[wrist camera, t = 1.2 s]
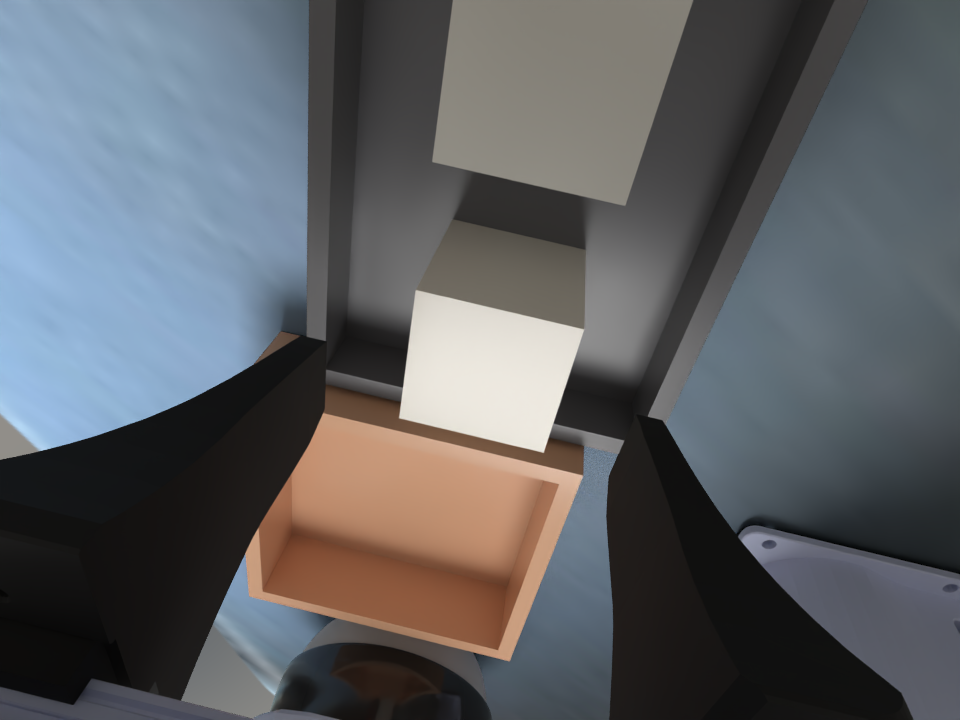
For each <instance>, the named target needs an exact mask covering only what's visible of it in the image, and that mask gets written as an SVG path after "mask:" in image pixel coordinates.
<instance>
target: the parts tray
mask: <svg viewBox="0 0 960 720" xmlns="http://www.w3.org/2000/svg"><path fill="white" fill-rule="evenodd" d="M867 2H868V0H693V2H692V5H691V8H690V11H689V15H688V18H687V21H686V24H685V27H684V30H683V33H682V36H681V39H680V42H679V45H678V48H677V51H676V54H675V57H674V60H673V63H672V66H671V69H670V72H669V75H668V78H667V81H666V84H665V87H664V90H663V93H662V96H661V99H660V102H659V105H658V108H657V111H656V114H655V117H654V120H653V123H652V126H651V129H650V132H649V135H648V138H647V142H646V145H645V148H644V151H643V154H642V157H641V160H640V163H639V166H638V169H637V172H636V175H635V178H634V181H633V184H632V187H631V190H630V193H629V196H628V199H627V202H626V205H625V206H623V205H619V204H614V203H610V202H606V201H601V200H597V199H592V198H588V197H584V196H579V195H575V194H570V193H566V192H562V191H557V190H553V189H549V188H544V187H540V186H535V185H531V184H527V183H522V182H518V181H513V180H509V179H505V178H500V177H496V176H492V175H487V174H483V173H478V172H474V171H470V170H465V169H461V168H456V167H452V166H448V165H443V164H439V163H434V162H432V159H433V151H434V144H435V136H436V128H437V120H438V112H439V105H440V97H441V89H442V81H443V74H444V66H445V58H446V50H447V43H448V35H449V27H450V19H451V11H452V4H453V0H309V101H308V228H307V337H310V338H314V339H319V340H323V341H327V356H326V384H327V385H331V386H335V387H339V388H343V389H347V390H352V391H356V392H360V393H364V394H368V395H373V396H377V397H381V398H385V399H389V400H394V401H398V402H401V400H402V392H403V385H404V377H405V369H406V361H407V353H408V346H409V338H410V330H411V322H412V315H413V307H414V299H415V291H416V288H417V286H418V285H419V283H420V281H421V279H422V277H423V275H424V273H425V271H426V269H427V267H428V265H429V264H430V262H431V260H432V258H433V256H434V254H435V252H436V250H437V248H438V246H439V244H440V243H441V241H442V239H443V237H444V235H445V233H446V231H447V229H448V227H449V225H450V223H451V221H452V220H453V219H454V220H458V221H462V222H467V223H471V224H475V225H480V226H484V227H488V228H493V229H497V230H501V231H506V232H510V233H514V234H519V235H523V236H527V237H532V238H536V239H541V240H545V241H549V242H554V243H558V244H562V245H567V246H571V247H575V248H580V249H584V250H586V275H585V323H584V332H583V335H582V338H581V341H580V344H579V347H578V350H577V353H576V356H575V359H574V362H573V365H572V368H571V371H570V374H569V377H568V380H567V383H566V386H565V389H564V393H563V396H562V399H561V402H560V405H559V408H558V411H557V414H556V417H555V420H554V423H553V426H552V429H551V432H550V435H549V438H552V439H557V440H561V441H565V442H569V443H573V444H578V445H582V446H586V447H590V448H594V449H599V450H603V451H607V452H611V453H615V454H619V452H620V449H621V447H622V445H623V443H624V440H625V438H626V436H627V433H628V431H629V429H630V426H631V424H632V422H633V420H634V417H635V415H636V414H639V415H643V416H647V417H651V418H656V419H660V420H663V422H664V423H665V425H666V423H667V420H668V418H669V416H670V414H671V412H672V410H673V408H674V406H675V404H676V402H677V399H678V397H679V395H680V393H681V391H682V389H683V387H684V385H685V383H686V381H687V379H688V376H689V374H690V372H691V370H692V368H693V366H694V364H695V362H696V360H697V358H698V356H699V353H700V351H701V349H702V347H703V345H704V343H705V341H706V339H707V337H708V335H709V333H710V330H711V328H712V326H713V324H714V322H715V320H716V318H717V316H718V314H719V312H720V310H721V307H722V305H723V303H724V301H725V299H726V297H727V295H728V293H729V291H730V289H731V286H732V284H733V282H734V280H735V278H736V276H737V274H738V272H739V270H740V268H741V266H742V263H743V261H744V259H745V257H746V255H747V253H748V251H749V249H750V247H751V245H752V243H753V240H754V238H755V236H756V234H757V232H758V230H759V228H760V226H761V224H762V222H763V220H764V217H765V215H766V213H767V211H768V209H769V207H770V205H771V203H772V201H773V199H774V197H775V194H776V192H777V190H778V188H779V186H780V184H781V182H782V180H783V178H784V176H785V173H786V171H787V169H788V167H789V165H790V163H791V161H792V159H793V157H794V155H795V153H796V150H797V148H798V146H799V144H800V142H801V140H802V138H803V136H804V134H805V132H806V130H807V127H808V125H809V123H810V121H811V119H812V117H813V115H814V113H815V111H816V109H817V107H818V104H819V102H820V100H821V98H822V96H823V94H824V92H825V90H826V88H827V86H828V84H829V81H830V79H831V77H832V75H833V73H834V71H835V69H836V67H837V65H838V63H839V60H840V58H841V56H842V54H843V52H844V50H845V48H846V46H847V44H848V42H849V40H850V37H851V35H852V33H853V31H854V29H855V27H856V25H857V23H858V21H859V19H860V17H861V14H862V12H863V10H864V8H865V6H866V4H867Z"/></svg>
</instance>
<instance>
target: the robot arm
mask: <svg viewBox="0 0 960 720" xmlns="http://www.w3.org/2000/svg"><path fill="white" fill-rule="evenodd" d="M326 356H327V341H323V340H319V339H314V338H310V337H306V336H302V335H301V336H299V337H298V338H296V339H294V340H293V341H291V342H289V343H288V344H286V345H285V346H283V347H281V348H280V349H278V350H276V351H275V352H273V353H272V354H270V355H268V356H267V357H265V358H264V359H262V360H260V361H259V362H257V363H255V364H254V365H252V366H250V367H249V368H247V369H245V370H244V371H242V372H240V373H239V374H237V375H235V376H233V377H232V378H230V379H228V380H226V381H224V382H223V383H221V384H219V385H217V386H215V387H213V388H211V389H209V390H207V391H206V392H204V393H202V394H200V395H198V396H196V397H194V398H192V399H190V400H188V401H186V402H183V403H181V404H179V405H177V406H175V407H172V408H170V409H168V410H165V411H163V412H161V413H158V414H156V415H153V416H151V417H148V418H146V419H143V420H141V421H138V422H135V423H132V424H129V425H126V426H123V427H121V428H118V429H115V430H112V431H109V432H106V433H103V434H101V435H97V436H94V437H91V438H87V439H84V440H81V441H77V442H74V443H70V444H66V445H63V446H59V447H55V448H51V449H47V450H43V451H39V452H35V453H31V454H26V455H22V456H17V457H12V458H7V459H2V460H0V720H339V719H335V718H331V717H327V716H322V715H318V714H314V713H310V712H302V711H294V710H286V709H280V710H276V711H272V712H268V713H264V714H261V715H259V716H257V717H254V718H253V719H252V718H248V717H244V716H240V715H236V714H231V713H228V712H224V711H220V710H216V709H212V708H208V707H204V706H200V705H196V704H192V703H188V702H184V701H181V699H182V696H183V694H184V692H185V689H186V686H187V684H188V682H189V679H190V677H191V674H192V672H193V669H194V667H195V664H196V662H197V660H198V657H199V655H200V653H201V650H202V648H203V646H204V643H205V641H206V639H207V636H208V634H209V632H210V629H211V627H212V625H213V622H214V620H215V618H216V615H217V613H218V611H219V609H220V607H221V605H222V602H223V600H224V598H225V596H226V594H227V591H228V589H229V587H230V585H231V583H232V580H233V578H234V576H235V574H236V572H237V570H238V568H239V566H240V564H241V561H242V559H243V557H244V555H245V553H246V551H247V549H248V547H249V545H250V543H251V541H252V539H253V537H254V535H255V533H256V531H257V530H258V528H259V526H260V524H261V522H262V521H263V519H264V517H265V516H266V514H267V513H268V511H269V509H270V508H271V506H272V504H273V503H274V501H275V500H276V498H277V496H278V495H279V493H280V492H281V490H282V488H283V487H284V485H285V483H286V482H287V480H288V479H289V477H290V475H291V474H292V472H293V471H294V469H295V467H296V466H297V464H298V462H299V461H300V459H301V457H302V456H303V454H304V452H305V451H306V449H307V447H308V446H309V444H310V442H311V439H312V437H313V435H314V433H315V431H316V428H317V426H318V424H319V422H320V419H321V417H322V415H323V412H324V410H325V389H326ZM606 518H607V534H608V548H609V562H610V575H611V588H612V601H613V655H612V680H611V700H610V718H609V720H960V574H957V573H953V572H949V571H945V570H940V569H936V568H932V567H928V566H924V565H920V564H915V563H911V562H907V561H903V560H899V559H895V558H891V557H886V556H882V555H878V554H874V553H870V552H866V551H861V550H857V549H853V548H849V547H845V546H841V545H837V544H832V543H828V542H824V541H820V540H816V539H812V538H807V537H803V536H799V535H795V534H791V533H787V532H782V531H778V530H774V529H770V528H766V527H762V526H755V525H754V526H749V527H746V528H745V529H744V530H742V531H741V533H740V534H739V536H737V535H736V534H735V532H734V531H733V530H732V529H731V527H730V526H729V524H728V523H727V522H726V520H725V519H724V517H723V516H722V515H721V513H720V512H719V511H718V509H717V508H716V506H715V505H714V503H713V502H712V501H711V499H710V498H709V496H708V495H707V493H706V492H705V490H704V488H703V487H702V485H701V484H700V482H699V481H698V479H697V477H696V476H695V474H694V473H693V471H692V469H691V468H690V466H689V464H688V463H687V461H686V459H685V458H684V456H683V454H682V453H681V451H680V449H679V447H678V446H677V444H676V442H675V441H674V439H673V437H672V435H671V434H670V432H669V430H668V428H667V427H666V425H665V423H664V422H663V420H660V419H656V418H651V417H647V416H643V415H639V414H636V415H635V417H634V420H633V422H632V424H631V426H630V429H629V431H628V433H627V436H626V438H625V440H624V443H623V445H622V447H621V449H620V452H619V454H618V456H617V459H616V461H615V463H614V466H613V468H612V470H611V472H610V475H609V481H608V495H607V514H606ZM767 540H769V541H767Z"/></svg>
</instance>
